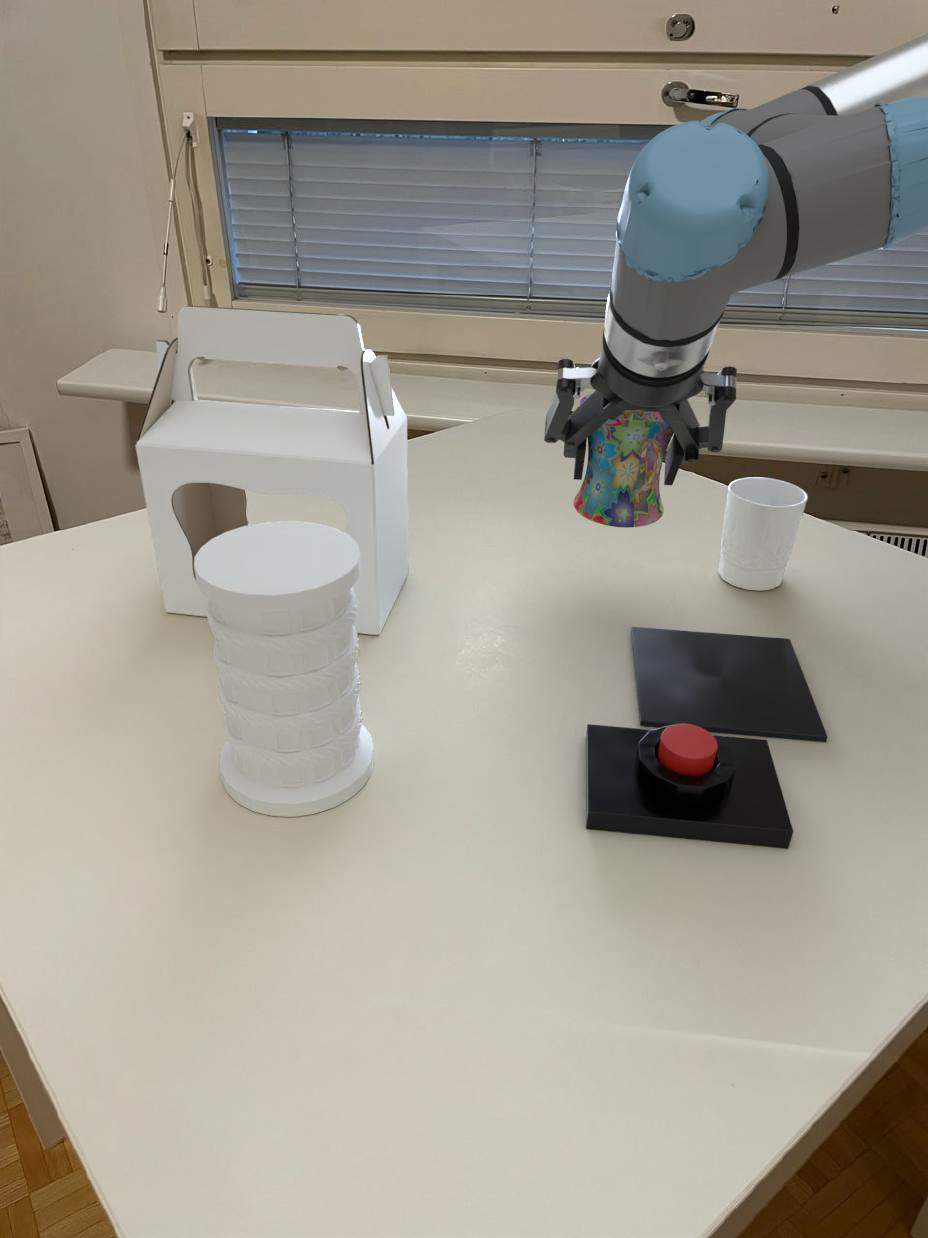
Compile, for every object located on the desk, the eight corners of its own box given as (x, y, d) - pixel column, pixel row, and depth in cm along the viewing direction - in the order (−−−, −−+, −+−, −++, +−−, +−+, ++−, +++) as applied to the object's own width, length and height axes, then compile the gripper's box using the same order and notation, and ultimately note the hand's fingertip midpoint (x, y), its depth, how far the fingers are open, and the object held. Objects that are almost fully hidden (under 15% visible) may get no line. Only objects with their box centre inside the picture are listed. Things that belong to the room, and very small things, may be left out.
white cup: (761, 601, 90) (781, 513, 85) (698, 574, 95) (713, 488, 90) (801, 579, 95) (822, 493, 90) (739, 553, 100) (755, 471, 95)
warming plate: (788, 643, 83) (790, 638, 83) (826, 742, 71) (828, 736, 70) (630, 631, 85) (631, 626, 84) (639, 726, 72) (640, 720, 72)
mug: (556, 498, 86) (567, 390, 80) (645, 494, 87) (661, 389, 82) (594, 551, 76) (609, 433, 70) (694, 546, 77) (716, 430, 72)
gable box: (411, 573, 94) (408, 302, 80) (381, 637, 83) (372, 336, 68) (216, 553, 97) (179, 289, 82) (162, 613, 86) (108, 319, 71)
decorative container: (400, 741, 70) (396, 537, 60) (322, 837, 60) (304, 614, 51) (278, 703, 74) (257, 507, 64) (188, 788, 64) (148, 573, 55)
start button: (709, 744, 65) (713, 726, 64) (717, 780, 62) (721, 761, 61) (655, 739, 66) (659, 721, 65) (660, 775, 62) (663, 756, 61)
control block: (762, 756, 69) (771, 721, 67) (788, 849, 61) (799, 812, 59) (585, 740, 70) (589, 705, 68) (586, 829, 62) (590, 792, 60)
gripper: (505, 374, 61) (511, 499, 83) (810, 390, 59) (733, 513, 81) (514, 280, 62) (518, 426, 84) (810, 292, 60) (735, 439, 82)
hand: (623, 469), depth 82 cm, fingers closed on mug, 8 cm apart
